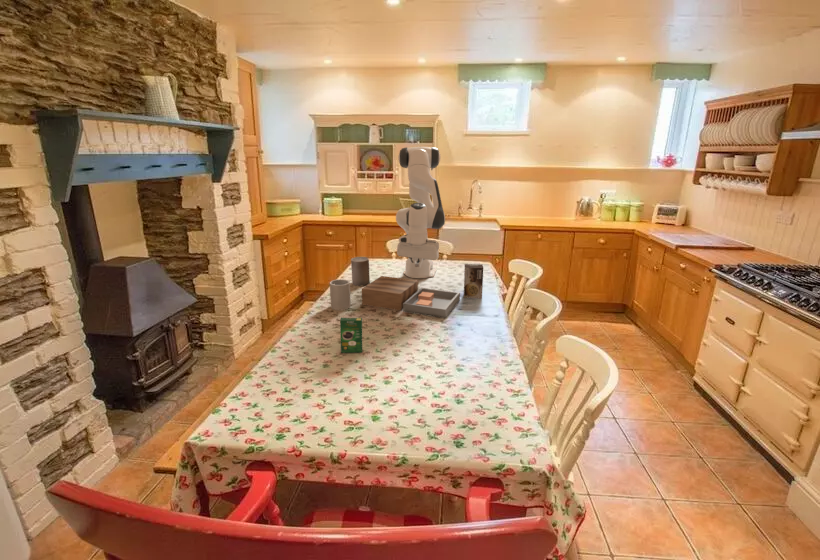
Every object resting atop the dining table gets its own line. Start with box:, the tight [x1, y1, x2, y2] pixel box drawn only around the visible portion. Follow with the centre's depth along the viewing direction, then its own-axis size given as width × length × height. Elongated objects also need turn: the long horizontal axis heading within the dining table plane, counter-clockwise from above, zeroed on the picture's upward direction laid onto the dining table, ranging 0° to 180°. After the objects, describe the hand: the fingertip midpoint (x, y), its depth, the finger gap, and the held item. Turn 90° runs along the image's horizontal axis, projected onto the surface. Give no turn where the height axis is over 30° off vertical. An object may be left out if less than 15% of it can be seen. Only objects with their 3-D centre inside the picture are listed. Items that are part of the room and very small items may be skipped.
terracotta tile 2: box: [418, 292, 434, 301], centre depth 205 cm, size 6×6×2 cm
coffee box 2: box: [463, 263, 484, 300], centre depth 210 cm, size 9×6×16 cm
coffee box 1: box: [339, 317, 363, 354], centre depth 154 cm, size 8×3×13 cm, turn 93°
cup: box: [329, 278, 352, 311], centre depth 197 cm, size 9×9×12 cm
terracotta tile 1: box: [416, 299, 432, 307], centre depth 195 cm, size 6×6×2 cm
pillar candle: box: [350, 256, 371, 287], centre depth 230 cm, size 10×10×15 cm
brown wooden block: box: [361, 275, 419, 311], centre depth 206 cm, size 22×20×8 cm
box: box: [402, 287, 461, 319], centre depth 199 cm, size 24×20×4 cm
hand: (417, 266), depth 203 cm, fingers closed
